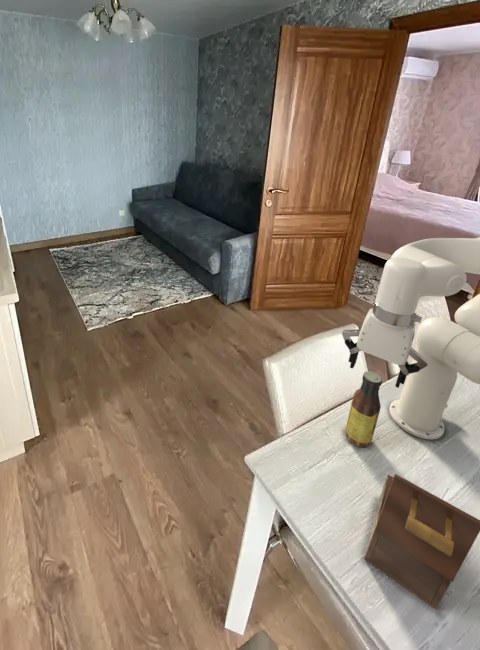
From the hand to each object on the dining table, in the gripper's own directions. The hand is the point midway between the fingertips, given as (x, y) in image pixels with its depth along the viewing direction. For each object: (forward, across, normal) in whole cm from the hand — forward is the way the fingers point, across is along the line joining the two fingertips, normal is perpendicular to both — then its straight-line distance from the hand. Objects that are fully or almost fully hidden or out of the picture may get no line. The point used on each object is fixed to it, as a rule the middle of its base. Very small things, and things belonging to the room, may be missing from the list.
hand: (374, 374), depth 82 cm
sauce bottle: (+21, 0, 0) cm, 21 cm away
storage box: (+21, -13, +20) cm, 32 cm away
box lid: (+5, -13, +27) cm, 30 cm away
